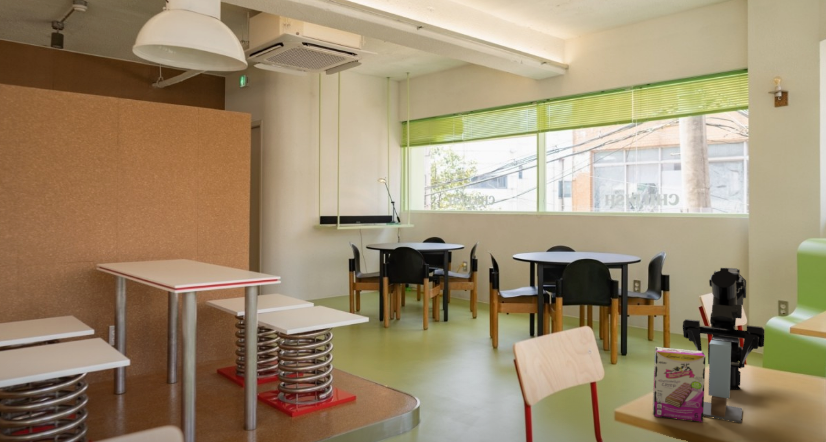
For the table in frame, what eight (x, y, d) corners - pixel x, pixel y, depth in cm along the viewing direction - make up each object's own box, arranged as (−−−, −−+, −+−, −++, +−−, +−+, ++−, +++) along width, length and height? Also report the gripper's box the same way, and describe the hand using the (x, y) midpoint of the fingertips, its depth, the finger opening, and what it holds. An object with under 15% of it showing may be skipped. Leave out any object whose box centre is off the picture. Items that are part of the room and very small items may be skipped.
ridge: (710, 414, 142) (711, 398, 142) (713, 403, 149) (713, 388, 149) (724, 417, 140) (725, 400, 140) (726, 405, 148) (726, 390, 148)
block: (708, 395, 144) (709, 343, 143) (709, 390, 148) (711, 339, 147) (729, 398, 142) (730, 346, 141) (729, 393, 145) (731, 342, 145)
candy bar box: (653, 417, 141) (655, 350, 141) (652, 410, 146) (653, 346, 145) (704, 423, 138) (706, 355, 137) (701, 416, 142) (703, 350, 142)
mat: (694, 414, 143) (694, 412, 143) (698, 403, 152) (698, 400, 152) (741, 423, 138) (741, 420, 138) (742, 410, 147) (742, 407, 147)
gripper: (684, 289, 155) (678, 338, 147) (765, 295, 146) (764, 348, 137) (686, 313, 163) (681, 361, 154) (764, 320, 153) (763, 372, 144)
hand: (720, 360), depth 147 cm, fingers open, 9 cm apart
